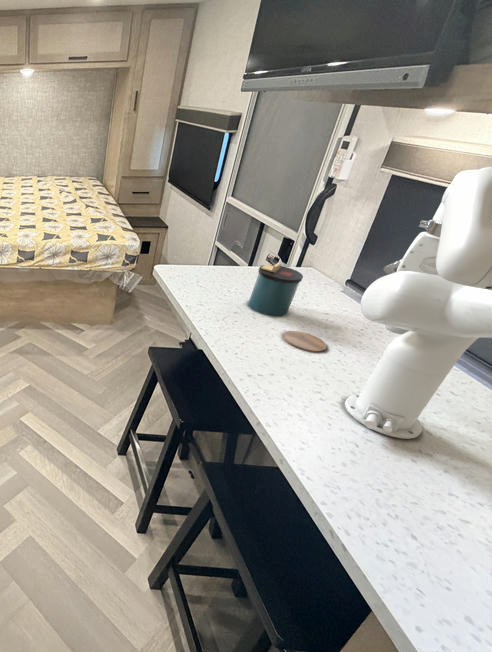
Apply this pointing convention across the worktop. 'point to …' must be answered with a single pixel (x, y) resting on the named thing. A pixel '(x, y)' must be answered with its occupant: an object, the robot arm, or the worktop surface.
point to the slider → (272, 267)
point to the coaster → (304, 341)
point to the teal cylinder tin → (274, 291)
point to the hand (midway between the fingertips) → (410, 305)
